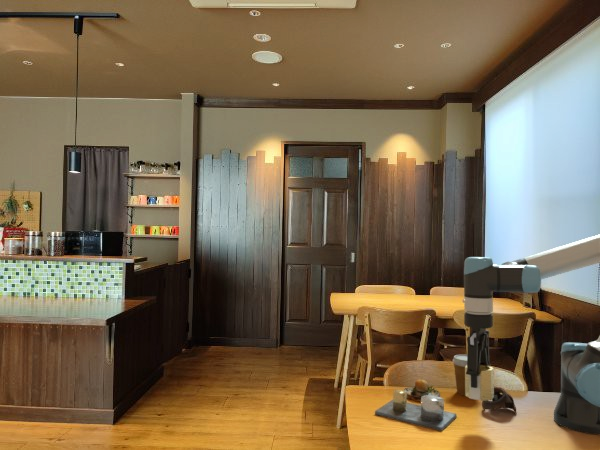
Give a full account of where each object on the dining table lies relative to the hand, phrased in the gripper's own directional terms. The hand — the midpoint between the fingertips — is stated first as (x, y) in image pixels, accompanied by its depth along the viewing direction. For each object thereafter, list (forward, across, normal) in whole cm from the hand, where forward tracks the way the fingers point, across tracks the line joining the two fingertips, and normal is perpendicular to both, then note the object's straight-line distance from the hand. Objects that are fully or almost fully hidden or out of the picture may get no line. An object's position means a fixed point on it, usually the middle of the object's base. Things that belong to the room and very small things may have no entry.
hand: (478, 395), depth 135 cm
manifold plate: (+9, +2, -18) cm, 20 cm away
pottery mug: (+10, -18, +1) cm, 20 cm away
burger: (+9, -16, -23) cm, 29 cm away
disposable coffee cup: (+9, -29, -12) cm, 32 cm away
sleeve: (0, 0, 0) cm, 0 cm away
